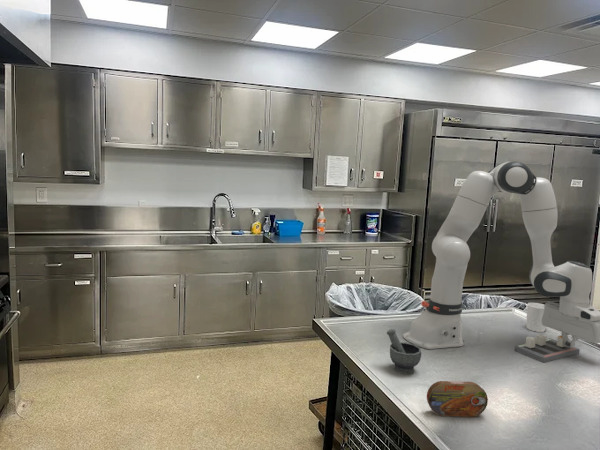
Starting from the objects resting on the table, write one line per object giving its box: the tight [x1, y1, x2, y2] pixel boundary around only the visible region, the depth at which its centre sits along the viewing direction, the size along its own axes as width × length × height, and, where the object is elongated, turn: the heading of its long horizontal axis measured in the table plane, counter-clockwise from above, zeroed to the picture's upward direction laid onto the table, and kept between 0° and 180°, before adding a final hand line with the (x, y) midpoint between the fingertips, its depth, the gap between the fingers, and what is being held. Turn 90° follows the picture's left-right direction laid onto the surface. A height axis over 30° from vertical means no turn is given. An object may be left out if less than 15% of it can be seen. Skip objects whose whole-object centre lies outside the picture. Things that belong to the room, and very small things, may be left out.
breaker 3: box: [556, 334, 566, 347], centre depth 161 cm, size 2×2×4 cm
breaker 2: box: [535, 334, 547, 346], centre depth 162 cm, size 2×2×3 cm
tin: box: [426, 380, 489, 418], centre depth 115 cm, size 15×3×8 cm, turn 90°
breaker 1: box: [524, 336, 537, 348], centre depth 159 cm, size 2×2×3 cm
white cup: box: [525, 302, 547, 333], centre depth 183 cm, size 8×8×10 cm
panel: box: [514, 338, 580, 363], centre depth 160 cm, size 20×11×2 cm, turn 119°
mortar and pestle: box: [386, 328, 422, 375], centre depth 140 cm, size 11×9×12 cm
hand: (569, 346), depth 159 cm, fingers closed
